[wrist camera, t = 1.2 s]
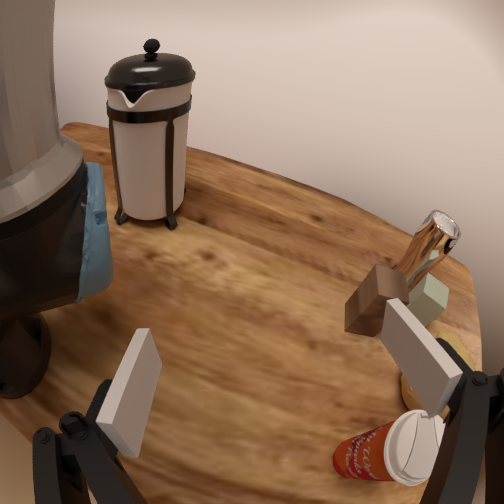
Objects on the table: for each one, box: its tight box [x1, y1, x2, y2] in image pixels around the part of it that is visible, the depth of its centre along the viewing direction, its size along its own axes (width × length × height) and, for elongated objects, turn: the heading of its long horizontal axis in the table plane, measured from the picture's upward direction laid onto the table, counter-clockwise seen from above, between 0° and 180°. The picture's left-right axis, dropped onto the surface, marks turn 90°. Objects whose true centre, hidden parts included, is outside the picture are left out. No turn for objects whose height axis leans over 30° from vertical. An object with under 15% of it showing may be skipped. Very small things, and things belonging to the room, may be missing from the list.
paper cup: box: [333, 410, 445, 486], centre depth 22 cm, size 8×8×14 cm
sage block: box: [406, 273, 449, 327], centre depth 40 cm, size 5×5×8 cm
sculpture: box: [401, 331, 475, 419], centre depth 30 cm, size 12×12×11 cm
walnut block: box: [345, 264, 410, 337], centre depth 38 cm, size 5×5×10 cm
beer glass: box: [392, 210, 461, 292], centre depth 43 cm, size 7×7×15 cm
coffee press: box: [105, 39, 195, 229], centre depth 39 cm, size 17×16×30 cm
